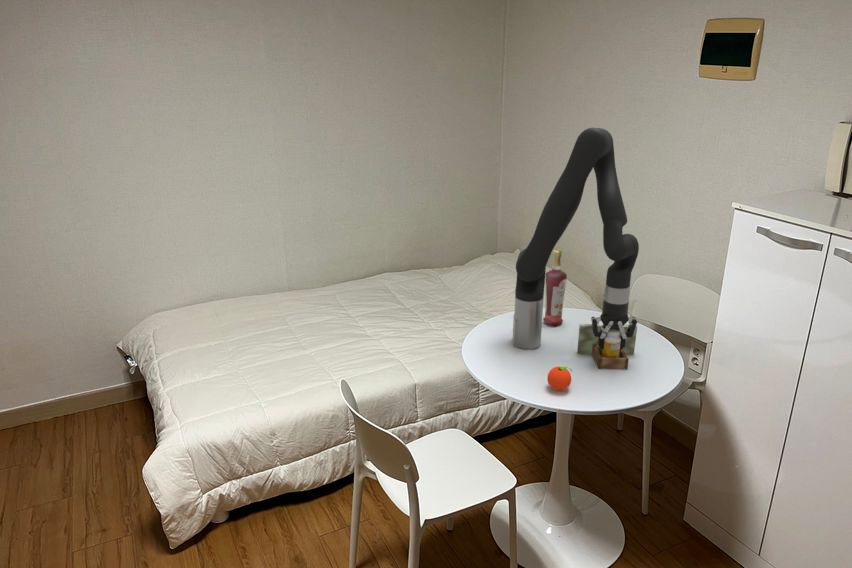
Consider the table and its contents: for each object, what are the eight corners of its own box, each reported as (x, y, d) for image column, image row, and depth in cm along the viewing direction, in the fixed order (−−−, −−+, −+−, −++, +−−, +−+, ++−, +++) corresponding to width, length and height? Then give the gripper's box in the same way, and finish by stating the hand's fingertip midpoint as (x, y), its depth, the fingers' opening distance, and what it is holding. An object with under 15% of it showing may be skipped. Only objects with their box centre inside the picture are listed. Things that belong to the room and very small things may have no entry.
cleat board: (583, 368, 193) (586, 339, 189) (577, 351, 204) (579, 324, 200) (642, 369, 192) (645, 340, 188) (632, 352, 203) (636, 324, 199)
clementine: (563, 379, 187) (564, 359, 184) (578, 390, 181) (580, 368, 178) (541, 386, 183) (543, 365, 181) (556, 397, 177) (558, 375, 175)
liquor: (554, 329, 220) (559, 254, 210) (538, 322, 225) (542, 249, 215) (567, 323, 224) (573, 250, 214) (551, 317, 229) (556, 245, 219)
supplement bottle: (598, 354, 198) (601, 326, 195) (615, 353, 199) (618, 326, 195) (604, 362, 193) (607, 334, 190) (621, 361, 194) (624, 333, 190)
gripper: (595, 303, 186) (590, 353, 192) (643, 303, 185) (637, 354, 191) (590, 293, 193) (585, 342, 199) (636, 294, 192) (631, 343, 198)
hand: (611, 347), depth 195 cm, fingers closed on supplement bottle, 5 cm apart
